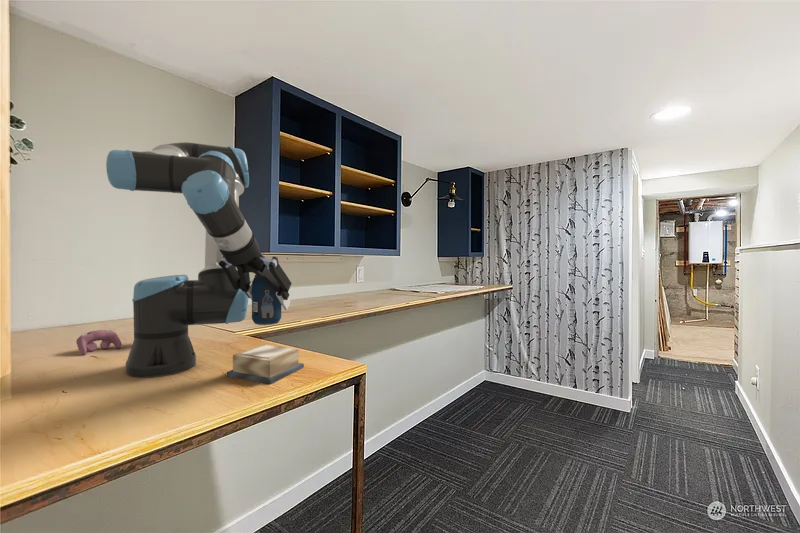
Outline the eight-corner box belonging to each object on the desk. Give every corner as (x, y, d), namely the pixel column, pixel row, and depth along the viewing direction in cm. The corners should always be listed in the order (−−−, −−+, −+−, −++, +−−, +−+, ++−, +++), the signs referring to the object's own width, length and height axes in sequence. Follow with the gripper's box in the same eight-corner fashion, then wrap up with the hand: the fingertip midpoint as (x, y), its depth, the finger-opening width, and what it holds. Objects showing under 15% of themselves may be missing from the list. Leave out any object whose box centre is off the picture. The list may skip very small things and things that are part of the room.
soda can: (270, 319, 98) (270, 273, 98) (287, 322, 94) (287, 275, 94) (245, 323, 93) (246, 274, 92) (262, 327, 89) (263, 276, 88)
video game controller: (118, 351, 114) (113, 329, 115) (123, 347, 112) (119, 324, 113) (77, 359, 106) (72, 335, 107) (81, 354, 103) (77, 330, 105)
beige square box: (226, 376, 90) (226, 354, 90) (263, 361, 103) (263, 342, 102) (270, 384, 86) (270, 361, 86) (303, 367, 98) (304, 347, 98)
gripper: (185, 252, 79) (232, 314, 96) (272, 254, 76) (305, 319, 93) (202, 228, 84) (245, 291, 101) (284, 229, 81) (314, 295, 97)
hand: (273, 304), depth 97 cm, fingers closed on soda can, 7 cm apart
